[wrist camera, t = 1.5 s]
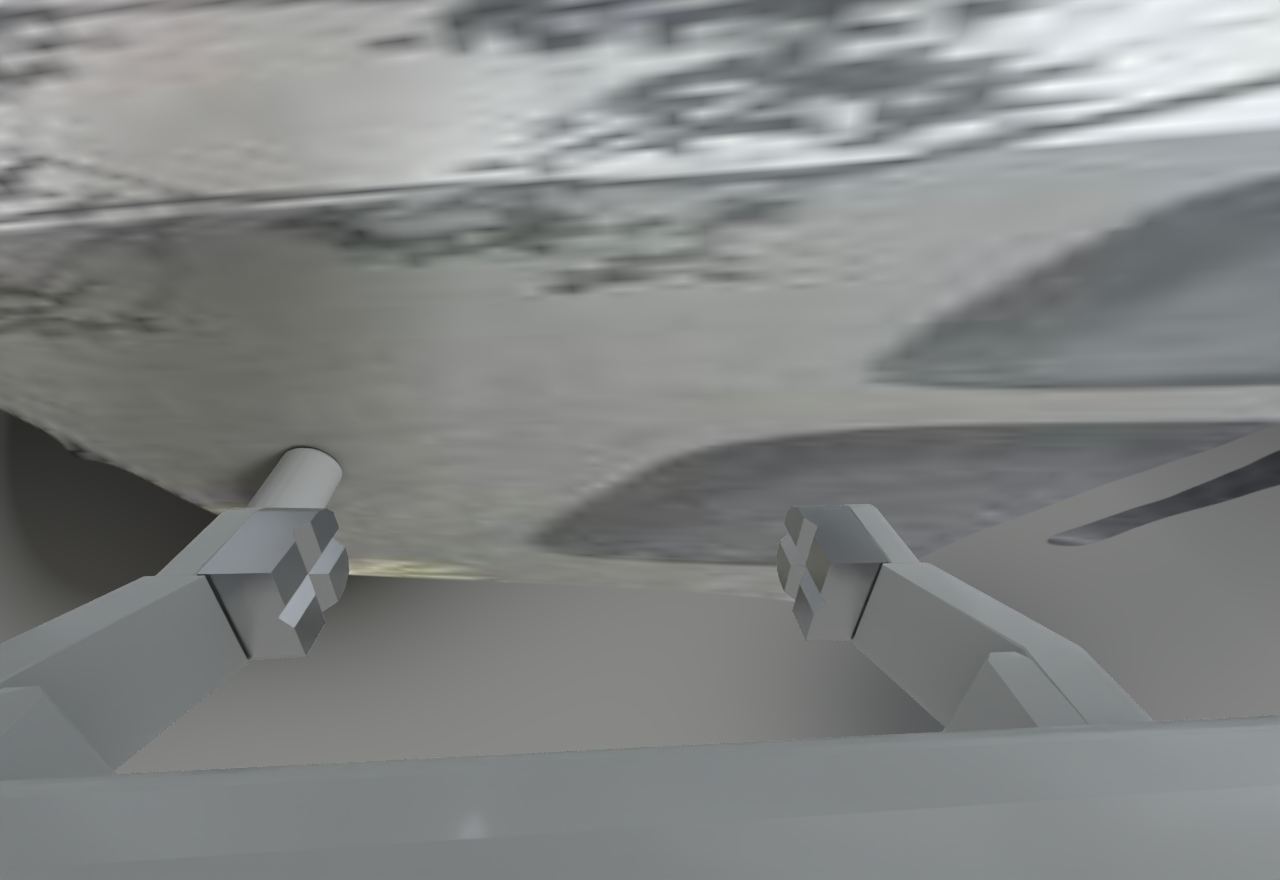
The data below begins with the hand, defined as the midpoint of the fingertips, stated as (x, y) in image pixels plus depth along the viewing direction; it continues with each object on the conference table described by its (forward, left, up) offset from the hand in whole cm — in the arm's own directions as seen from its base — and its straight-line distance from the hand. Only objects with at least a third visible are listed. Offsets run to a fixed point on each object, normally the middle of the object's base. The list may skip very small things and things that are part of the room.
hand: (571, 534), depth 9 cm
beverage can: (+48, +8, -38) cm, 62 cm away
